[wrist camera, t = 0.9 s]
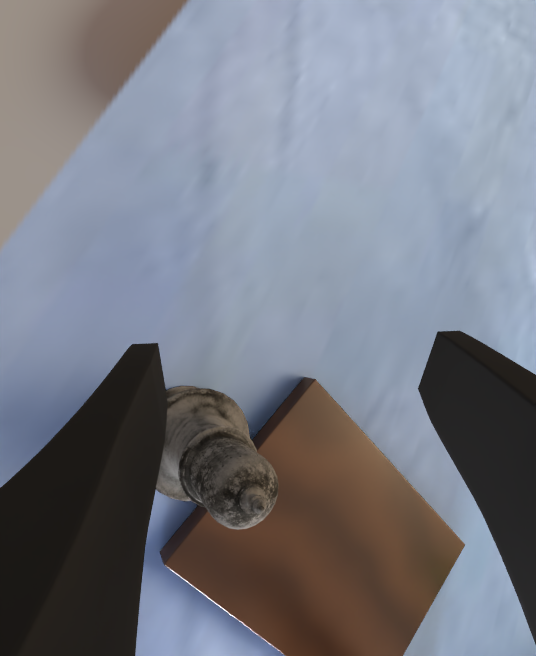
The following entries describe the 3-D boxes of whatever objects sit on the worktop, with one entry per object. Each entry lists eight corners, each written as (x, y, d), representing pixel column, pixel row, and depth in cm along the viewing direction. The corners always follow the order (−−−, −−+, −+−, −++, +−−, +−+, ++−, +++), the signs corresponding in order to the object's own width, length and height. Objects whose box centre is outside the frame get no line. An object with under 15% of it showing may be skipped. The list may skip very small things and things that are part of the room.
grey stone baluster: (145, 372, 23) (196, 408, 12) (237, 389, 25) (349, 431, 14) (121, 474, 22) (152, 608, 12) (217, 481, 25) (320, 598, 14)
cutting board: (355, 700, 29) (368, 718, 28) (158, 551, 23) (163, 565, 22) (450, 536, 33) (465, 544, 32) (304, 376, 27) (315, 378, 26)
